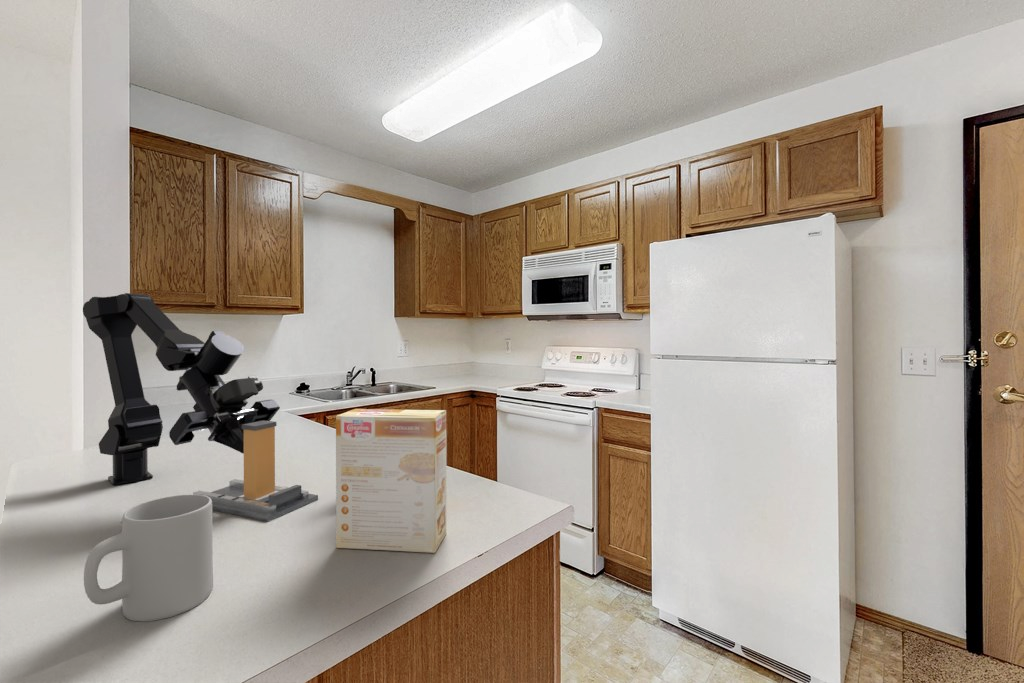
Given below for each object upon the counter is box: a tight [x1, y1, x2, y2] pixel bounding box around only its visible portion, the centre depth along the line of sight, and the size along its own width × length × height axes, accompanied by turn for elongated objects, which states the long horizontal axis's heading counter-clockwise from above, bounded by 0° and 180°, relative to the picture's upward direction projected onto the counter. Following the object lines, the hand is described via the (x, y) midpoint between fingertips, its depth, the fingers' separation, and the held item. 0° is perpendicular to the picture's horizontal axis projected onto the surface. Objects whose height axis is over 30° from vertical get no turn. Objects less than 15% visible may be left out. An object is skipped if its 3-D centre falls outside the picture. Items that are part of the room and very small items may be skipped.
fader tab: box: [239, 420, 279, 502], centre depth 84 cm, size 5×5×14 cm
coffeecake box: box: [335, 408, 447, 554], centre depth 70 cm, size 15×7×20 cm, turn 84°
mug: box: [83, 494, 214, 622], centre depth 52 cm, size 12×8×11 cm
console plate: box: [192, 479, 319, 522], centre depth 85 cm, size 20×11×3 cm, turn 69°
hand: (252, 454), depth 85 cm, fingers closed, pressing on fader tab
